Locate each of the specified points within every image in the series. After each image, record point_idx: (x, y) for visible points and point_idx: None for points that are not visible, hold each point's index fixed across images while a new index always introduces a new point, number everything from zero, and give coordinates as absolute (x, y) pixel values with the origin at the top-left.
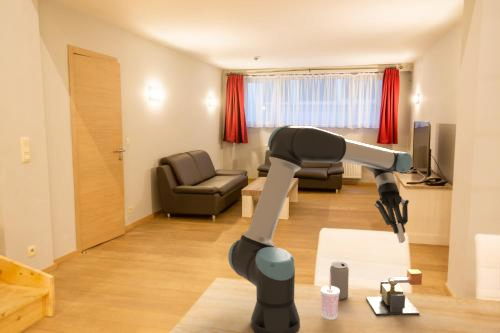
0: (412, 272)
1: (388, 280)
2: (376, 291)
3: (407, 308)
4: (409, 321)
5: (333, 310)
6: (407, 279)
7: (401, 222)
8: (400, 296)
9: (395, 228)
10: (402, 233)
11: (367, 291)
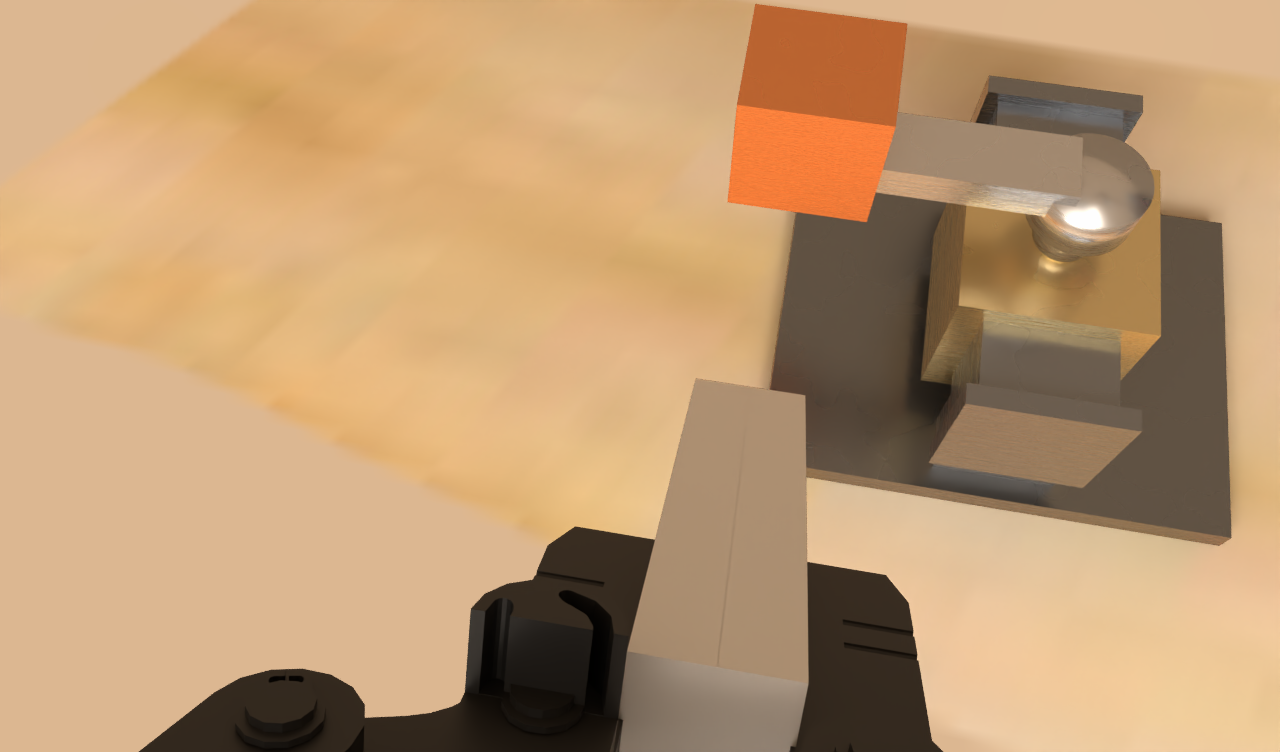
0: (872, 44)
1: (1150, 195)
2: (1022, 704)
3: (876, 245)
4: (943, 115)
5: None
6: (914, 123)
7: (605, 632)
8: (1039, 88)
9: (875, 648)
10: (717, 458)
11: (1139, 729)
